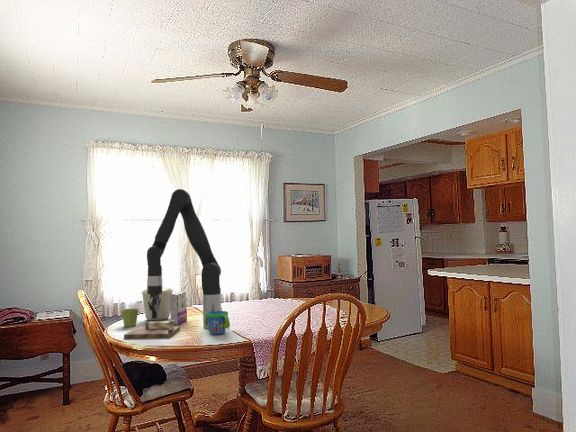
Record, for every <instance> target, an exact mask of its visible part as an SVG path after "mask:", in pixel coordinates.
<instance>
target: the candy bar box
mask: <svg viewBox="0 0 576 432" xmlns="http://www.w3.org/2000/svg"><path fill="white" fill-rule="evenodd" d="M187 303H188V302H187V291H179V292H175V293H172V294H171V295H170V320H175V322H173V326H175V325H176V326H178V325H180V324H183V323H186V322H187V321H188V313H187V311H188V309H187V307H188V305H187Z"/></svg>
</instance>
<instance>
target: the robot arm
mask: <svg viewBox="0 0 576 432" xmlns="http://www.w3.org/2000/svg"><path fill="white" fill-rule="evenodd" d="M191 197H192V196H191V195H190V193H189V192H188V191H186V190H185V189H183V188H182V189H181V188H177V189H176V190H174V191H173V192H172V194H171V197H170V200H169V203H168V206H167V210H166V213H165V215H164V217H163V219H162V221H161V224H160V225H159V228H158V229H157V232H156V234H155V236H154V241H153V244H152V245H151V246H150V247H149V248H148V249H147V251H146V260H147V261H146V262H147V278H146V280H147V281H146V289H147V294H150V302H148V305H149V308H150V310H151V311H152V318H153V319H156V318H157V311H158V309H159V306H160V302H161V299H160V297H159V294H161V293H162V287H163V268H162V264H161V263H162V262H161V261H162V260H161V257H162V256H163V254H164V253H165V249H166V247H167V244H168V242H169V240H170V238H171V235H172V234H173V232H174V229H175V225H176V223H177V219H178V217H179V214H180V215H181V218H182V221H183V226H184V230H185V231H184V232H185V233H186V236H187V238H188V241H189V243H190V246H191V247H192V249H193V251H194V252H195V253H196V254H197V256H198V257H199V259H200V263H201V265H202V269H201V290H202V317H203V319H202V321H203V322H202V323H203V329H208V330H209V327H208V325H206V324H205V320H206V313H208V312H213V311H223V307H222V299H221V297H222V295H221V293H222V292H221V291H222V289H221V283H220V277H221V274H222V269H221V266H220V265H219V263H218V261H217V259H216V257H215V255H214V254H213V251H212V248H211V245H210V242H209V239H208V236H207V234H206V231H205V229H204V227H203V225H202V223H201V221H200V218H199V217H198V216H197V212H196V211H195V208H194V205H193V201H192V198H191Z"/></svg>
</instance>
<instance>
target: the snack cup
mask: <svg viewBox="0 0 576 432" xmlns="http://www.w3.org/2000/svg"><path fill="white" fill-rule="evenodd" d="M205 324H206V325H208V327H209V329H208V331H209V335H211V336H221V335H224V334H225V333H226V332H227V331H226V330H227V329H230V327H231V323H230V319H229V311H227V310H226V311H225V310H222V311H213V312H208V313H206V320H205Z"/></svg>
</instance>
